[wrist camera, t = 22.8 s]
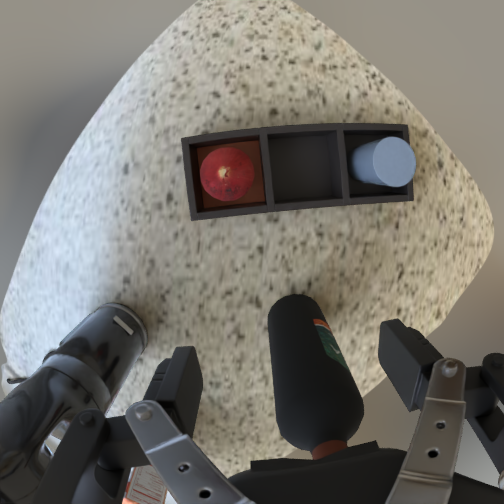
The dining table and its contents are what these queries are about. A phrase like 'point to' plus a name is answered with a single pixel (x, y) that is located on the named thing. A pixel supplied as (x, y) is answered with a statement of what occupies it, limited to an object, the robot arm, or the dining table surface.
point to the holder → (291, 168)
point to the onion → (227, 173)
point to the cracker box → (144, 487)
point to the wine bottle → (311, 379)
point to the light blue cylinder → (382, 162)
